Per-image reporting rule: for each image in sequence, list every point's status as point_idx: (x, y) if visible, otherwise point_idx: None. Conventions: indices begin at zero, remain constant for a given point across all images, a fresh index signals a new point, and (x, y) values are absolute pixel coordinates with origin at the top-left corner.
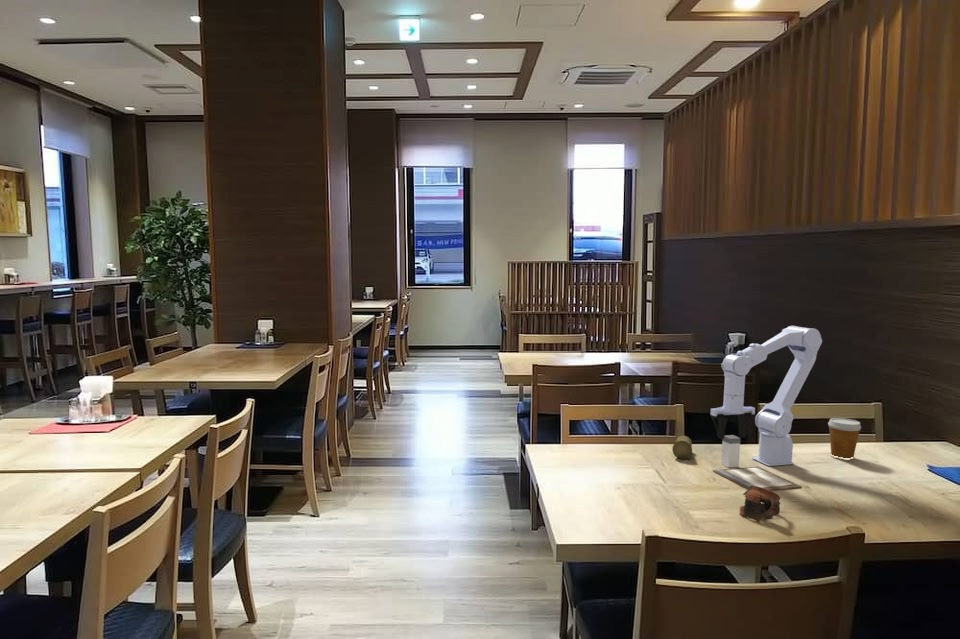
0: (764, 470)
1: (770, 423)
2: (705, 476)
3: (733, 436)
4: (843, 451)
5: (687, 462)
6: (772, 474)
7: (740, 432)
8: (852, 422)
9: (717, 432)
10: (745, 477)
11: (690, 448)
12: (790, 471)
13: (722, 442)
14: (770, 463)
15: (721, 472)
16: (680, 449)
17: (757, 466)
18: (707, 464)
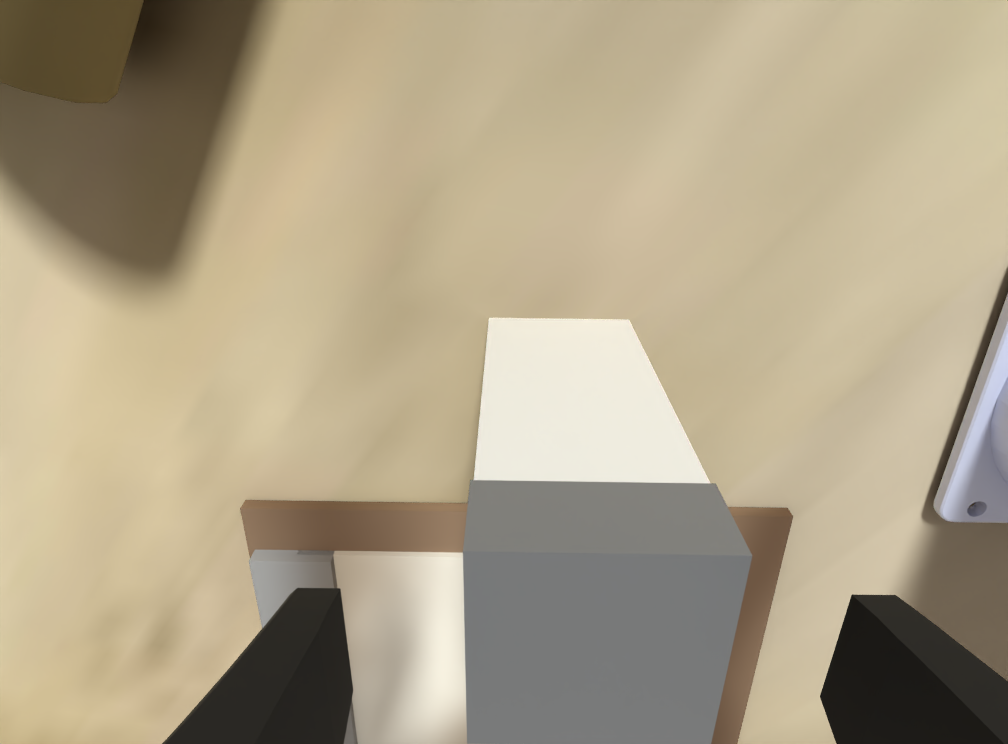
0: (746, 615)
1: None
2: (110, 584)
3: (664, 645)
4: None
5: (80, 163)
6: (722, 694)
7: (894, 715)
8: None
9: (234, 687)
10: (422, 715)
11: (31, 82)
12: (984, 640)
13: (475, 464)
14: (1002, 491)
15: (261, 618)
16: None
17: (788, 516)
18: (310, 295)
